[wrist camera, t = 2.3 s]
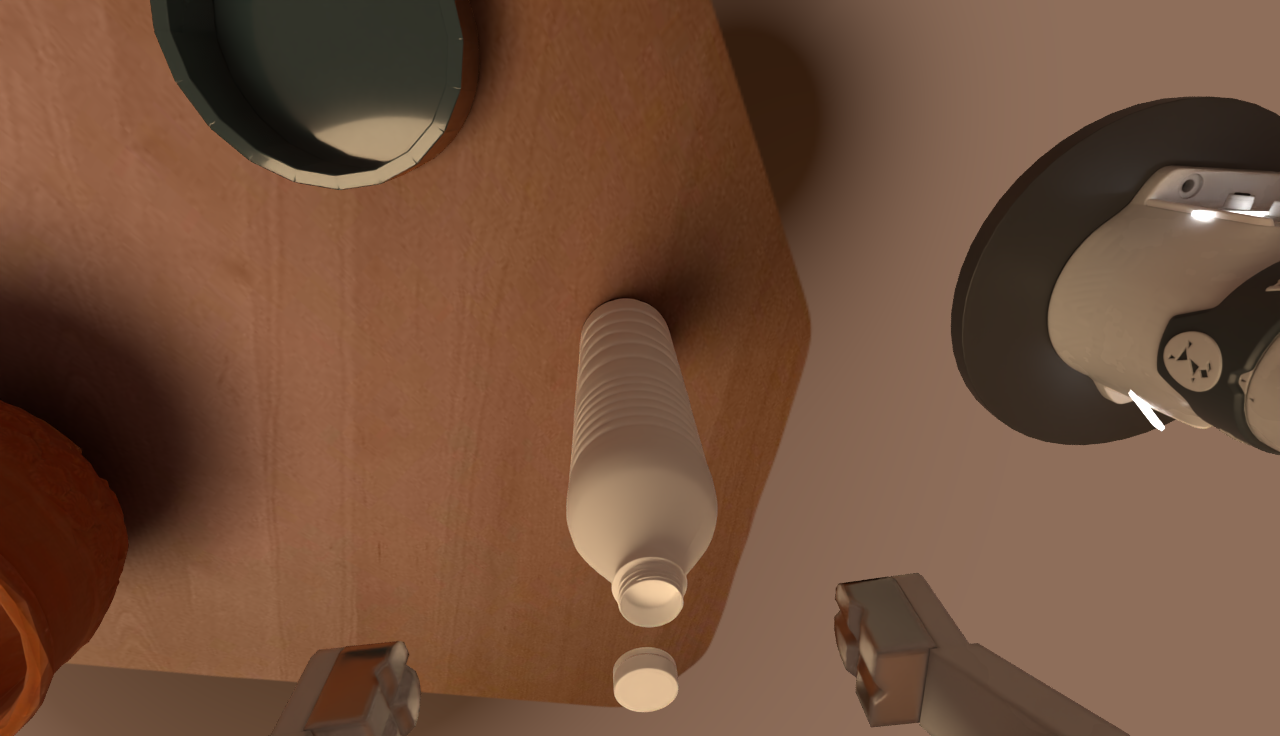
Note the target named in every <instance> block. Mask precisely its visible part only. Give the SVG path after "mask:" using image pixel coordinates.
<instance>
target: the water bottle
mask: <svg viewBox="0 0 1280 736" xmlns="http://www.w3.org/2000/svg"><path fill="white" fill-rule="evenodd" d="M566 516H567V523H568V528H569V531H570V535H571V537H572V540H573V543H574V545H575V548H576V550H577V551H578V552H579V554H580V555H581V556H582V557H583V559H584V560H585V561H586V562H587V563H588V564H589V565H590V566H591V567H592V568H593V569H595V570H596V571H597V572H598V573H599V574H601V575H602V576H603V577H605V578H606V579H607V580H608V581H610V582H611V583H612V593H613V596H614V598H615V600H616V601H617V602H618V606H619V610H620V612H621V613H622V615H623V616H624V618H625V619H626V620H628V621H629V622H631V623H632V624H635V625H637V626H641V627H657V626H661V625H664V624H666V623H668V622H670V621H672V620H673V619H674V618H675V617H676V616H677V615H678V614H679V613H680V611H681V609H682V607H683V604H684V601H683V596H684V594H685V592H686V589H687V578H686V575H687V574H688V572H689V571H690V570H691V569H692V568H693V566H694V565H695V564H696V563H697V562H698V560H699V559H700V558H701V556H702V555H703V554H704V552H705V551H706V549H707V547H708V546H709V544H710V542H711V539H712V537H713V534H714V530H715V526H716V521H717V497H716V492H715V488H714V484H713V479H712V476H711V473H710V471H709V468H708V465H707V463H706V459H705V455H704V452H703V448H702V444H701V442H700V438H699V434H698V431H697V427H696V424H695V420H694V417H693V414H692V410H691V406H690V401H689V397H688V394H687V391H686V388H685V384H684V380H683V377H682V375H681V370H680V366H679V363H678V360H677V356H676V353H675V350H674V346H673V342H672V339H671V335H670V331H669V329H668V326H667V324H666V322H665V320H664V318H663V317H662V316H661V314H660V313H659V312H658V311H657V310H656V309H655V308H653V307H652V306H651V305H649V304H647V303H645V302H641V301H639V300H636V299H629V298H622V299H616V300H614V301H609V302H606V303H604V304H603V305H601V306H599V307H598V308H597V309H595V310H594V311H593V312H592V313H591V315H590V316H589V317H588V319H587V320H586V322H585V324H584V326H583V329H582V332H581V338H580V352H579V365H578V377H577V389H576V403H575V409H574V428H573V442H572V452H571V464H570V477H569V486H568V492H567V502H566ZM646 653H649V654H646ZM640 654H642V655H640ZM653 654H657V655H653ZM634 655H637V656H634ZM658 655H660V656H658ZM631 656H633V657H631ZM629 657H631V658H629ZM666 658H667V659H666ZM626 659H627V660H626ZM624 660H625V661H624ZM669 660H670V661H669ZM621 662H622V663H621ZM620 663H621V664H620ZM619 664H620V665H619ZM613 681H614V696H615V697H616V699H617V701H618V702H619V703H620V704H621V705H622V706H623V707H625V708H627V709H630V710H633V711H637V712H650V711H655V710H658V709H661V708H663V707H665V706H667V705H668V704H670V703H671V702H672V701H673V700H674V699H675V697H676V695H677V693H678V688H679V685H678V677H677V669H676V664H675V661H674V659H673V658H672V656H671V655H669V654H668V653H667V652H665V651H663V650H660V649H657V648H651V647H643V648H637V649H633V650H631V651H628V652H626V653H625V654H623V655H622V656H621V657H620V658H619V659H618V660H617V661H616V663H615V665H614V669H613Z"/></svg>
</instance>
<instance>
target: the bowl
mask: <svg viewBox="0 0 1280 736" xmlns="http://www.w3.org/2000/svg"><path fill="white" fill-rule="evenodd" d="M81 453H82V449H81V448H79V447H78V446H77V445H76V444H74V443H73V442H72V441H71V440H69V439H68V438H67V437H66V436H64V435H63V434H62V433H60V432H59V431H58V430H56V429H55V428H54V427H52V426H51V425H50V424H48V423H47V422H45V421H44V420H42V419H39V418H37V417H35V416H33V415H32V414H30V413H28V412H27V411H25V410H23V409H22V408H19V407H16V406H13V405H10V404H7V403H5V402H3V401H1V400H0V736H14V735H15V734H16V733H17V732H18V731H19V730H20V729H21V728H22V727H23V726H24V725H25V724H26V723H27V722H28V721H29V720H30V719H31V718H32V717H33V716H34V715H35V713H36V712H37V710H38V709H39V708H40V706H41V705H42V703H43V701H44V699H45V696H46V693H47V691H48V688H49V686H50V683H51V680H52V678H53V675H54V673H55V672H56V671H57V670H58V669H59V668H60V667H61V666H62V665H63V664H64V663H66V662H68V661H69V660H70V659H71V657H72V656H73V655H74V654H75V653H76V652H77V651H78V650H79V649H80V648H81V647H82V646H84V645H85V644H86V643H88V642H89V641H90V639H91V638H92V636H93V635H94V633H95V632H96V630H97V629H98V627H99V625H100V624H101V622H102V620H103V617H104V615H105V614H106V612H107V610H108V608H109V606H110V604H111V602H112V600H113V598H114V595H115V592H116V588H117V586H118V584H119V578H120V575H121V573H122V571H123V567H124V563H125V559H126V555H127V551H128V546H129V544H128V537H127V529H126V526H125V524H124V520H123V517H124V515H123V512H122V509H121V506H120V504H119V501H118V499H117V497H116V495H115V492H113V491H112V490H110V488H109V485H108V482H107V480H105V479H102V478H100V477H98V475H97V474H96V472H95V470H94V469H93V467H92V465H91V464H90V463H89V462H88V461H87V460H86V459H85V458H84V457H83V456H82V455H81Z"/></svg>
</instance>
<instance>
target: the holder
mask: <svg viewBox="0 0 1280 736" xmlns="http://www.w3.org/2000/svg"><path fill="white" fill-rule="evenodd" d="M150 5H151V12H152V20H153V27H154V32H155V35H156V37H157V40H158V42H159V44H160V47H161V49H162V51H163V54H164V56H165V59H166V61H167V63H168V66H169V68H170V70H171V73H172V75H173V78H174V80H175V82H176V83H177V85H178V86H179V87H180V89H181V90H182V91H183V93H184V94H185V95H186V97H187V98H188V99H189V101H190V102H191V103H192V105H193V106H194V107H195V109H196V110H197V111H198V113H199V114H200V115H201V117H202V118H203V119H204V121H205V122H206V123H207V125H208V126H209V127H210V128H211V129H212V130H213V131H214V132H216V133H217V134H218V135H219V136H220V137H222V138H223V139H224V140H225V141H226V142H228V143H229V144H230V145H231V146H232V147H234V148H235V149H236V150H237V151H238V152H240V153H241V154H242V155H243V156H244V157H246V158H247V159H248V160H250V161H251V162H253V163H255V164H257V165H259V166H261V167H263V168H265V169H267V170H269V171H272V172H274V173H276V174H278V175H280V176H282V177H284V178H286V179H288V180H291V181H293V182H296V183H300V184H306V185H312V186H318V187H324V188H330V189H336V190H344V189H351V188H357V187H364V186H371V185H377V184H382V183H385V182H387V181H390V180H392V179H395V178H397V177H400V176H402V175H404V174H406V173H408V172H410V171H412V170H414V169H416V168H418V167H420V166H422V165H424V164H425V163H427V162H429V161H431V160H432V159H434V158H435V157H436V156H437V155H438V154H440V153H441V152H442V151H443V150H444V149H445V148H446V147H447V146H448V145H449V144H450V143H451V142H452V141H453V140H454V138H455V137H456V135H457V134H458V133H459V131H460V130H461V128H462V127H463V125H464V123H465V121H466V119H467V117H468V115H469V113H470V110H471V107H472V105H473V102H474V99H475V95H476V90H477V85H478V80H479V68H480V51H479V39H478V33H477V27H476V22H475V18H474V15H473V11H472V7H471V4H470V2H469V0H150Z"/></svg>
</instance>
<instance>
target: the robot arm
mask: <svg viewBox="0 0 1280 736" xmlns="http://www.w3.org/2000/svg"><path fill="white" fill-rule="evenodd" d="M1184 183H1185V185H1184V187H1183V188H1182V186H1183V184H1184ZM1048 332H1049V337H1050V340H1051V343H1052V345H1053V347H1054V349H1055V351H1056V353H1057V354H1058V356H1059V357H1060V358H1061V359H1062V360H1063V361H1064V362H1065V363H1066V364H1067V365H1068V366H1070V367H1071V368H1073V369H1074V370H1076V371H1078V372H1080V373H1082V374H1084V375H1086V376H1088V377H1089V378H1091V379H1092V380H1093V382H1094V384H1095V385H1096V387H1097V389H1098V390H1099V392H1100V393H1101V395H1102V396H1103V397H1104V398H1106V399H1108V400H1110V401H1112V402H1115V403H1117V404H1124V403H1128V402H1131V401H1135V402H1136V404H1137V405H1138V406H1139V408H1140V409H1141V410H1142V412H1143V413H1144V414H1145V415H1146V417H1147V418H1148V419H1149V421H1150V422H1151V423H1152V424H1153V426H1155V427H1156V428H1158V429H1160V430H1163V429H1164V428H1165V427H1164V426H1163V425H1162V423H1161V422H1160V421H1159V419H1158V418H1157V417H1156V415H1155V414H1154V413H1153V411H1152V410H1151V409H1150V408H1152V409H1154V410H1156V411H1159V412H1161V413H1163V414H1165V415H1167V416H1170V417H1172V418H1174V419H1176V420H1179V421H1181V422H1183V423H1186V424H1188V425H1190V426H1193V427H1196V428H1201V429H1206V428H1208V427H1212V426H1214V427H1216V428H1218V429H1219V431H1221V432H1223V433H1225V434H1226V435H1227V436H1229V437H1231V438H1233V439H1235V440H1237V441H1239V442H1243V443H1245V444H1247V445H1251V446H1253V447H1255V448H1258V449H1260V450H1262V451H1265V452H1268V453H1272V454H1277V455H1280V172H1277V171H1260V170H1243V169H1227V168H1210V167H1193V166H1176V165H1170V166H1165V167H1162V168H1161V169H1159V170H1157V171H1156V172H1155V173H1154V174H1153V175H1152V176H1151V177H1150V178H1149V179H1148V180H1147V181H1146V183H1145V184H1144V185H1143V186H1142V187H1141V189H1140V190H1139V191H1138V193H1137V194H1136V195H1135V197H1134V198H1133V199H1132V201H1131V202H1130V203H1129V204H1128V205H1127V206H1126V207H1125V208H1124V209H1122V210H1121V211H1120V212H1119V213H1117V214H1116V215H1115V216H1113V217H1112V218H1111V219H1109V220H1108V221H1106V222H1105V223H1104V224H1102V225H1101V226H1100V227H1099V228H1097V229H1096V230H1095V231H1094V232H1093V233H1092V234H1091V235H1090V236H1089V237H1088V238H1087V239H1086V240H1085V241H1084V242H1083V243H1082V244H1081V245H1080V246H1079V247H1078V248H1077V250H1076V251H1075V252H1074V253H1073V255H1072V256H1071V257H1070V259H1069V260H1068V262H1067V263H1066V265H1065V266H1064V268H1063V270H1062V272H1061V273H1060V275H1059V277H1058V279H1057V282H1056V284H1055V286H1054V289H1053V292H1052V295H1051V299H1050V303H1049V308H1048ZM835 600H836V602H837V604H838V606H839V608H840V611H839V612H838V613H837V614H836V615H835V617H834V621H835V622H834V630H835V636H836V642H837V647H838V650H839V653H840V656H841V659H842V661H843V664H844V666H845V669H846V670H847V671H848V672H850V673H851V674H852V675H854V676H855V677H856V679H857V680H856V694H857V696H858V698H859V701H860V703H861V705H862V708H863V710H864V712H865V714H866V717H867V719H868V721H869V724H870V726H871V727H880V726H889V725H898V724H909V723H918V722H920V726H921V727H923V728H924V729H925V730H926V731H927V732H928V733H929V734H930V735H931V736H1130V735H1129V734H1127V733H1126V732H1124V731H1122V730H1121V729H1119V728H1117V727H1116V726H1114V725H1112V724H1111V723H1109V722H1107V721H1106V720H1104V719H1103V718H1101V717H1099V716H1098V715H1096V714H1094V713H1092V712H1091V711H1089V710H1088V709H1086V708H1084V707H1083V706H1081V705H1079V704H1078V703H1076V702H1074V701H1073V700H1071V699H1069V698H1068V697H1066V696H1064V695H1063V694H1061V693H1059V692H1058V691H1056V690H1054V689H1053V688H1051V687H1050V686H1048V685H1046V684H1045V683H1043V682H1041V681H1040V680H1038V679H1036V678H1034V677H1033V676H1031V675H1029V674H1028V673H1026V672H1025V671H1023V670H1021V669H1020V668H1018V667H1016V666H1015V665H1013V664H1011V663H1010V662H1008V661H1006V660H1005V659H1003V658H1001V657H1000V656H998V655H997V654H995V653H993V652H992V651H990V650H988V649H987V648H985V647H983V646H981V645H980V644H978V643H976V644H969V643H968V641H967V640H966V638H965V637H964V635H963V634H962V633H961V631H960V629H959V628H958V627H957V626H956V624H955V622H954V621H953V619H952V618H951V617H950V615H949V614H948V612H947V611H946V609H945V608H944V606H943V605H942V603H941V602H940V600H939V599H938V598H937V596H936V595H935V593H934V592H933V591H932V589H931V588H930V586H929V584H928V583H927V582H926V580H925V579H924V577H923V576H922V575H920V574H919V573H913V574H905V575H898V576H891V577H882V578H875V579H868V580H861V581H854V582H846V583H839V584H838V585H837V587H836V594H835ZM408 657H409V652H408V650H407V648H406V646H405V643H404V642H401V641H395V642H385V643H375V644H365V645H356V646H346V647H340V648H331V649H322V650H318V651H317V652H316V653H315V654H314V655H313V656H312V657H311V658H310V660H309V662H308V664H307V666H306V668H305V670H304V672H303V674H302V675H301V677H300V679H299V681H298V683H297V685H296V687H295V689H294V691H293V693H292V695H291V697H290V699H289V701H288V702H287V705H286V706H285V708H284V710H283V712H282V714H281V716H280V718H279V720H278V722H277V724H276V726H275V728H274V730H273V731H272V733H271V735H270V736H407V735H408V734H409V733H410V731H411V730H412V729H413V728H414V727H415V725H416V722H417V718H418V714H419V710H420V697H421V690H420V682H419V678H418V676H417V673H416V671H415V670H413V669H412V668H410V667H409V666H407V665H406V663H407V660H408Z"/></svg>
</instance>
